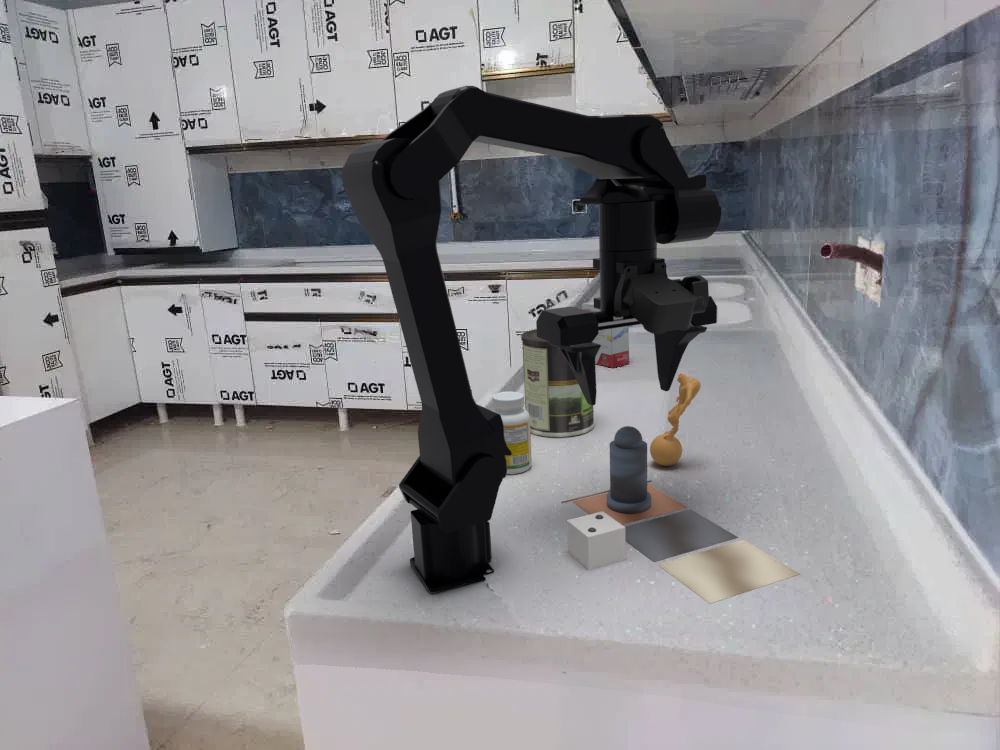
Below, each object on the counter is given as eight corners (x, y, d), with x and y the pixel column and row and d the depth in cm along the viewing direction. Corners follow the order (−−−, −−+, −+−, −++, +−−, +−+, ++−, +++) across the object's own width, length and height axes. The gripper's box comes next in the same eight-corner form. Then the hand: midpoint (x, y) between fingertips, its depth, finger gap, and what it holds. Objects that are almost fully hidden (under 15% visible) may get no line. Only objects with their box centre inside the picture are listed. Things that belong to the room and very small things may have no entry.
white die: (589, 576, 69) (588, 534, 68) (568, 557, 73) (566, 517, 71) (625, 565, 70) (625, 524, 69) (603, 548, 74) (602, 508, 73)
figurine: (651, 452, 98) (652, 364, 95) (698, 454, 97) (700, 365, 94) (647, 476, 91) (647, 381, 88) (698, 479, 89) (700, 382, 86)
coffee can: (603, 418, 113) (602, 327, 109) (581, 441, 104) (579, 342, 100) (540, 413, 117) (537, 325, 114) (513, 434, 108) (509, 339, 105)
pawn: (622, 517, 79) (621, 437, 76) (598, 501, 83) (597, 424, 81) (659, 507, 81) (660, 429, 78) (634, 492, 85) (634, 417, 83)
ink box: (630, 364, 144) (630, 304, 141) (611, 368, 141) (611, 307, 138) (600, 357, 151) (599, 299, 148) (582, 361, 148) (581, 302, 145)
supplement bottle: (523, 477, 92) (520, 403, 90) (483, 472, 94) (479, 400, 92) (537, 461, 97) (535, 391, 95) (499, 457, 99) (496, 388, 97)
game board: (706, 617, 62) (706, 611, 61) (561, 505, 84) (561, 500, 84) (815, 581, 66) (815, 575, 66) (650, 484, 88) (650, 479, 88)
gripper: (588, 263, 64) (592, 435, 68) (757, 245, 71) (751, 401, 75) (531, 254, 74) (537, 404, 78) (684, 239, 81) (682, 377, 85)
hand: (628, 397), depth 79 cm, fingers open, 9 cm apart
